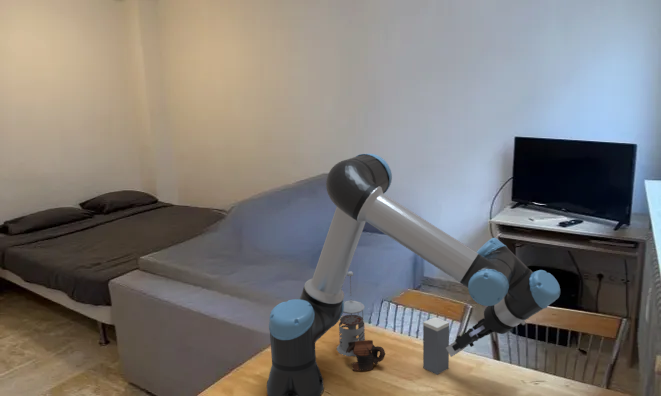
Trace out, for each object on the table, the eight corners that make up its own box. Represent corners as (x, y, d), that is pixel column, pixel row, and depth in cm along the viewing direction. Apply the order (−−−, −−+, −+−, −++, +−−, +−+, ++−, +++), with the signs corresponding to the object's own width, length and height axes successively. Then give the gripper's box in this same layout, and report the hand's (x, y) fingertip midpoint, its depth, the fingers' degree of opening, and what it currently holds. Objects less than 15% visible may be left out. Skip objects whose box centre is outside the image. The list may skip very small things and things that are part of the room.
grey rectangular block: (423, 367, 152) (423, 322, 149) (434, 361, 155) (435, 316, 152) (437, 374, 148) (437, 327, 145) (448, 368, 151) (449, 322, 148)
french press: (331, 352, 162) (328, 274, 157) (347, 336, 172) (345, 262, 167) (360, 359, 158) (358, 279, 152) (375, 342, 168) (374, 266, 162)
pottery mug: (342, 372, 152) (340, 342, 154) (355, 371, 160) (353, 343, 162) (382, 368, 147) (378, 338, 149) (393, 368, 155) (390, 338, 158)
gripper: (499, 335, 124) (442, 372, 141) (529, 319, 132) (472, 355, 149) (480, 307, 127) (426, 346, 144) (511, 293, 135) (457, 331, 151)
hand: (450, 351), depth 146 cm, fingers closed
